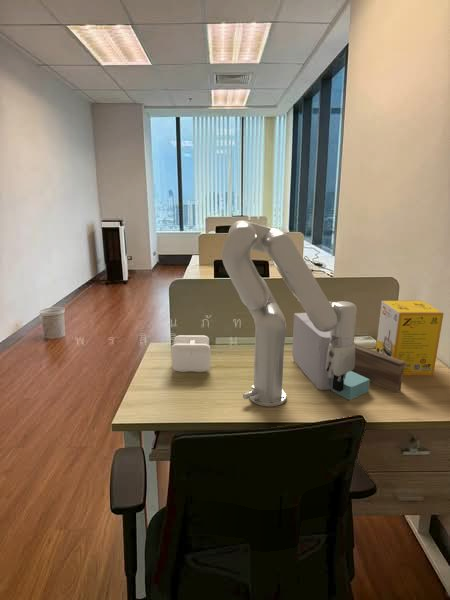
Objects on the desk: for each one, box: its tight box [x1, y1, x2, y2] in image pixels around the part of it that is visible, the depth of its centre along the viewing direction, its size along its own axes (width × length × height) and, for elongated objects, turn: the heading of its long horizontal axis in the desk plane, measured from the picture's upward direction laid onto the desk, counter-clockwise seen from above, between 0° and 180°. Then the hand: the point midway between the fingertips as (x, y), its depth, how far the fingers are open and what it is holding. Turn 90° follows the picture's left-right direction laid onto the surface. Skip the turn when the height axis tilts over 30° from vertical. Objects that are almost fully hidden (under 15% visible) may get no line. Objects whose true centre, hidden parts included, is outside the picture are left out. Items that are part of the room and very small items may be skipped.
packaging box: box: [375, 300, 444, 376], centre depth 152 cm, size 16×16×25 cm
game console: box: [291, 312, 332, 391], centre depth 147 cm, size 6×27×20 cm, turn 11°
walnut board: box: [351, 343, 405, 394], centre depth 142 cm, size 3×22×11 cm, turn 37°
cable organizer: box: [170, 334, 212, 373], centre depth 152 cm, size 15×11×12 cm
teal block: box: [330, 371, 371, 401], centre depth 135 cm, size 10×8×5 cm
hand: (337, 389), depth 131 cm, fingers closed
